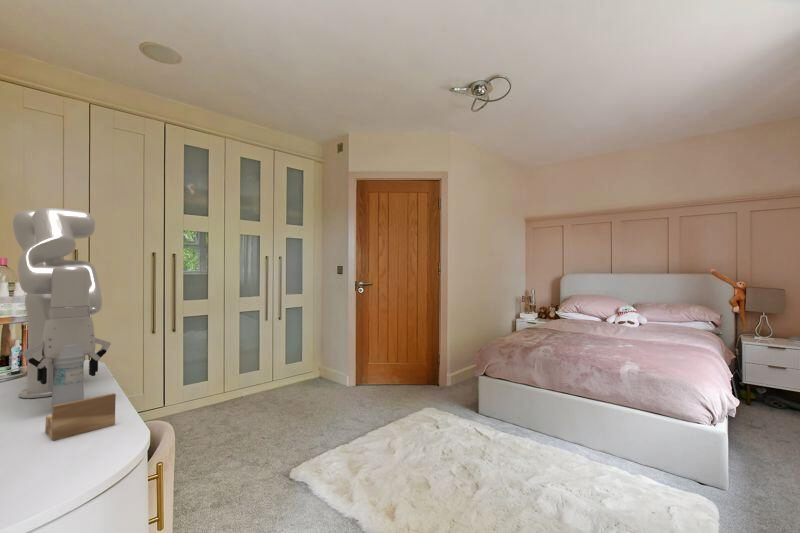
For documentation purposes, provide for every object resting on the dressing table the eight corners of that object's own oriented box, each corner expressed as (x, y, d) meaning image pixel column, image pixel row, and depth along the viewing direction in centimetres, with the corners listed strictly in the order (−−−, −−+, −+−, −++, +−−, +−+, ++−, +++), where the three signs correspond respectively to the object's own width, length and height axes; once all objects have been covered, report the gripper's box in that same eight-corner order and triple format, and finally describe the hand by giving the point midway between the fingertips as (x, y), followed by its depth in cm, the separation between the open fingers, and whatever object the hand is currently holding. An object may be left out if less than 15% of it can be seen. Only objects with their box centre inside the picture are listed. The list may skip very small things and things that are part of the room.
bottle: (63, 413, 92) (65, 333, 93) (42, 412, 94) (44, 332, 94) (91, 404, 99) (93, 329, 99) (71, 403, 100) (73, 329, 101)
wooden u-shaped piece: (45, 431, 81) (46, 399, 82) (104, 417, 90) (105, 388, 90) (52, 440, 77) (53, 406, 77) (114, 424, 85) (115, 394, 85)
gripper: (106, 310, 106) (105, 370, 105) (21, 315, 92) (19, 384, 92) (114, 311, 102) (113, 374, 101) (26, 316, 88) (24, 389, 87)
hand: (68, 379), depth 96 cm, fingers open, 9 cm apart
